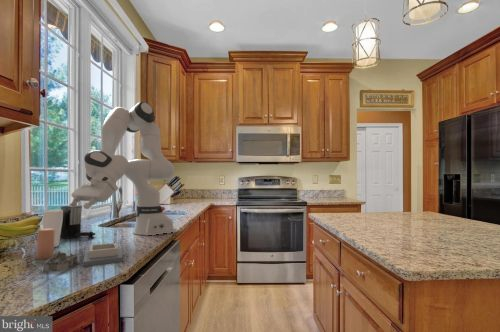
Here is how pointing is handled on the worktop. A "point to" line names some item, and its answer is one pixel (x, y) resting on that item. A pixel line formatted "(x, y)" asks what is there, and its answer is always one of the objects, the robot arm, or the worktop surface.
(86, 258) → the base board
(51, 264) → the grey rock frame
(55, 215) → the drinking glass
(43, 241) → the pillar
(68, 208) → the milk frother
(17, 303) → the worktop surface
